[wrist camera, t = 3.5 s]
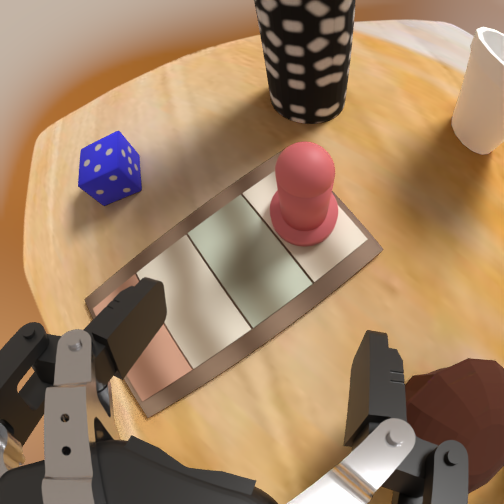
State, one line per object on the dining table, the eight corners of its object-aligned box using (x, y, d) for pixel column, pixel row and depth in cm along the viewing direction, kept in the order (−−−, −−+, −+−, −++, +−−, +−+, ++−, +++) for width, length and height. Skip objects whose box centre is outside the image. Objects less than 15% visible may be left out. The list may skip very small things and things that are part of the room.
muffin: (489, 361, 19) (560, 362, 10) (456, 469, 17) (509, 508, 7) (382, 348, 22) (434, 353, 12) (346, 468, 19) (369, 531, 10)
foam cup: (459, 94, 27) (491, 22, 15) (510, 143, 25) (557, 80, 12) (427, 122, 27) (464, 35, 14) (485, 180, 24) (547, 109, 12)
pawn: (308, 174, 26) (309, 106, 17) (349, 220, 24) (372, 162, 16) (257, 210, 26) (238, 150, 17) (298, 260, 24) (298, 216, 15)
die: (139, 154, 31) (118, 129, 26) (142, 191, 29) (118, 167, 25) (103, 170, 31) (80, 148, 26) (103, 207, 30) (77, 186, 25)
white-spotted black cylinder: (260, 114, 30) (221, -59, 11) (283, 69, 31) (262, -77, 12) (336, 132, 28) (351, -56, 9) (350, 83, 30) (361, -70, 11)
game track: (288, 149, 28) (288, 145, 27) (381, 251, 24) (383, 248, 23) (88, 300, 27) (83, 299, 26) (150, 416, 23) (146, 418, 22)
